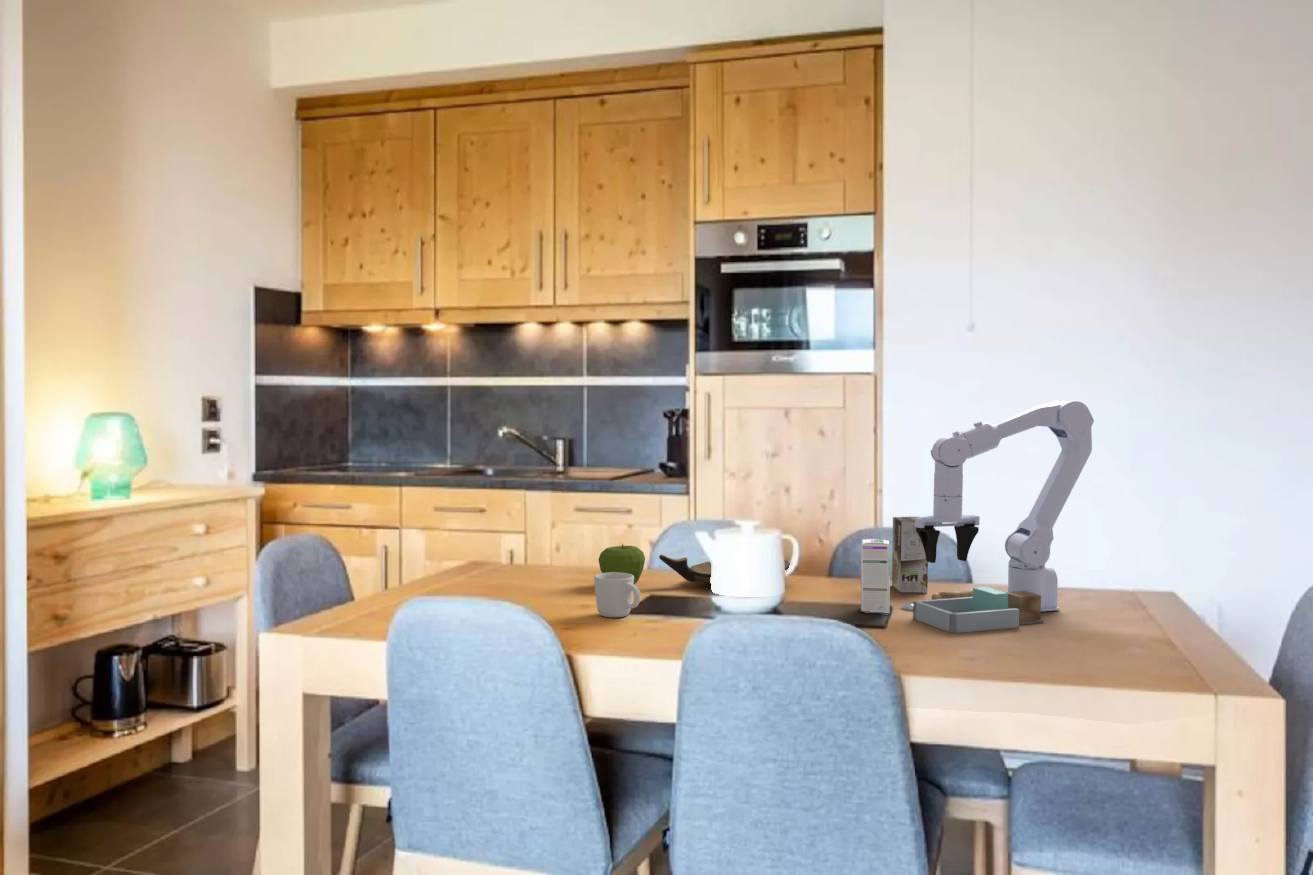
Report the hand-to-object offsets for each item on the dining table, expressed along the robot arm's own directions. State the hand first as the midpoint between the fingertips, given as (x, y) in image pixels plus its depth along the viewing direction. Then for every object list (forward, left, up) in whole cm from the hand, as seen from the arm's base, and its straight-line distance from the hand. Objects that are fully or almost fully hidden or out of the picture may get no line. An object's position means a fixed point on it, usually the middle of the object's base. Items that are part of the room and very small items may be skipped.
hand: (946, 561), depth 220 cm
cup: (+66, -15, -10) cm, 69 cm away
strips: (-7, +12, -10) cm, 17 cm away
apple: (+56, -44, -10) cm, 72 cm away
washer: (+6, -3, -10) cm, 12 cm away
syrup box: (+15, -3, -10) cm, 19 cm away
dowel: (-7, -6, -10) cm, 13 cm away
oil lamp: (+32, -39, -10) cm, 51 cm away
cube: (-9, +12, -10) cm, 18 cm away
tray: (+4, +12, -10) cm, 16 cm away
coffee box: (-5, -21, -10) cm, 23 cm away
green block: (-2, +12, -10) cm, 16 cm away
